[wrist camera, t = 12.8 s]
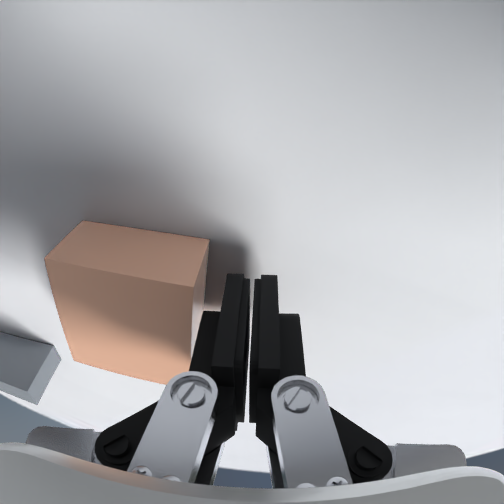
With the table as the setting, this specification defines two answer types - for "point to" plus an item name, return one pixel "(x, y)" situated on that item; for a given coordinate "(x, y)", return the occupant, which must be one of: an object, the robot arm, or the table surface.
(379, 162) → the table surface
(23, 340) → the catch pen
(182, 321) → the peach rectangular block
